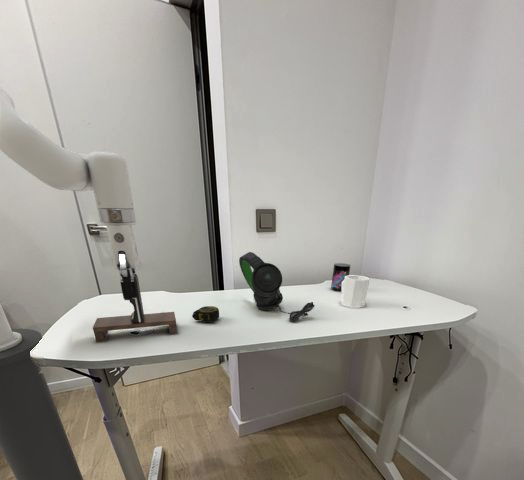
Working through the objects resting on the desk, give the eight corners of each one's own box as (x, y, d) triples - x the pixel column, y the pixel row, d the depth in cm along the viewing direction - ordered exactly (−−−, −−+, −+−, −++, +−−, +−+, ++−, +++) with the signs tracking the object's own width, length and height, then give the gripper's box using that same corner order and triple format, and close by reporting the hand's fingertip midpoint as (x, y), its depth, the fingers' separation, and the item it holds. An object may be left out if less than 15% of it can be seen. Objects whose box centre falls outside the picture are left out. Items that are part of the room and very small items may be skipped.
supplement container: (327, 288, 126) (330, 263, 121) (340, 287, 128) (344, 262, 123) (336, 292, 120) (340, 266, 116) (349, 291, 123) (354, 266, 118)
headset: (282, 341, 97) (236, 284, 108) (314, 320, 99) (267, 266, 110) (280, 314, 80) (227, 250, 91) (319, 289, 82) (263, 229, 93)
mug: (369, 306, 105) (374, 279, 100) (348, 308, 102) (353, 281, 98) (349, 297, 115) (354, 272, 110) (330, 298, 112) (334, 273, 108)
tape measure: (205, 315, 93) (204, 303, 91) (223, 318, 91) (223, 307, 89) (192, 322, 87) (191, 310, 86) (211, 326, 85) (210, 314, 83)
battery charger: (129, 315, 80) (121, 273, 75) (144, 314, 81) (137, 272, 76) (127, 324, 74) (119, 279, 69) (143, 323, 75) (136, 279, 70)
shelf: (96, 342, 74) (92, 327, 72) (100, 331, 80) (96, 317, 78) (177, 333, 80) (175, 320, 78) (175, 324, 85) (174, 311, 84)
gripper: (133, 220, 60) (146, 302, 68) (136, 215, 75) (147, 284, 83) (92, 219, 58) (111, 305, 66) (104, 215, 72) (118, 285, 81)
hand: (131, 292), depth 74 cm, fingers closed on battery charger, 7 cm apart
